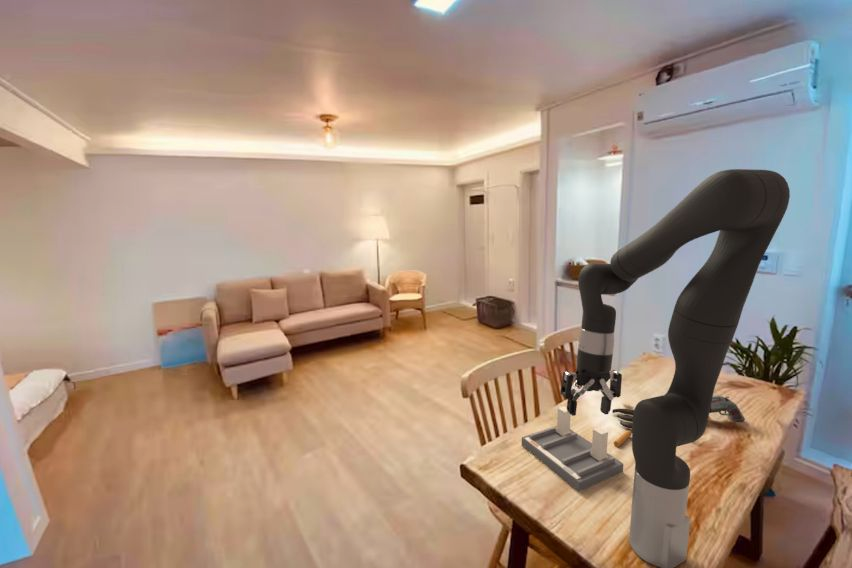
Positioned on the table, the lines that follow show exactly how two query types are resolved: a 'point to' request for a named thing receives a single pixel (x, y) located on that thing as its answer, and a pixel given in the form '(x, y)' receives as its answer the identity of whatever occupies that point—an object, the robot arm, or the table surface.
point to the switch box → (571, 457)
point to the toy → (627, 425)
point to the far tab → (563, 421)
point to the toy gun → (726, 408)
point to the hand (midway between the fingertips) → (588, 413)
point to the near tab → (599, 444)
